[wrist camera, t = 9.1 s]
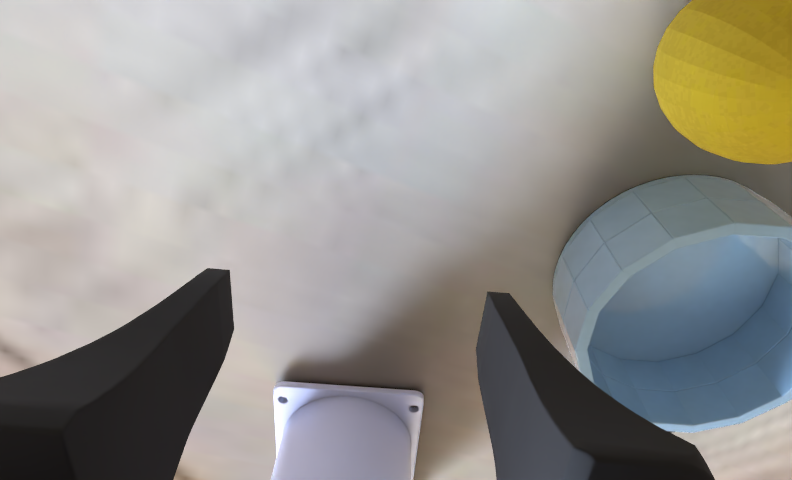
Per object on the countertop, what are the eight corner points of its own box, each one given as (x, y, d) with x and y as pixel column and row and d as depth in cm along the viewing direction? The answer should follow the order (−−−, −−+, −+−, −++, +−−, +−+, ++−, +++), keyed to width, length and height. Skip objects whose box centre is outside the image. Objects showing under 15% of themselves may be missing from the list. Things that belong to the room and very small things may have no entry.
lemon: (810, 0, 20) (1029, 39, 13) (711, 138, 22) (848, 232, 15) (680, -66, 19) (840, -63, 12) (593, 85, 21) (681, 160, 14)
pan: (733, 369, 28) (785, 439, 24) (532, 354, 28) (552, 423, 24) (826, 184, 23) (910, 235, 19) (581, 165, 23) (616, 213, 19)
